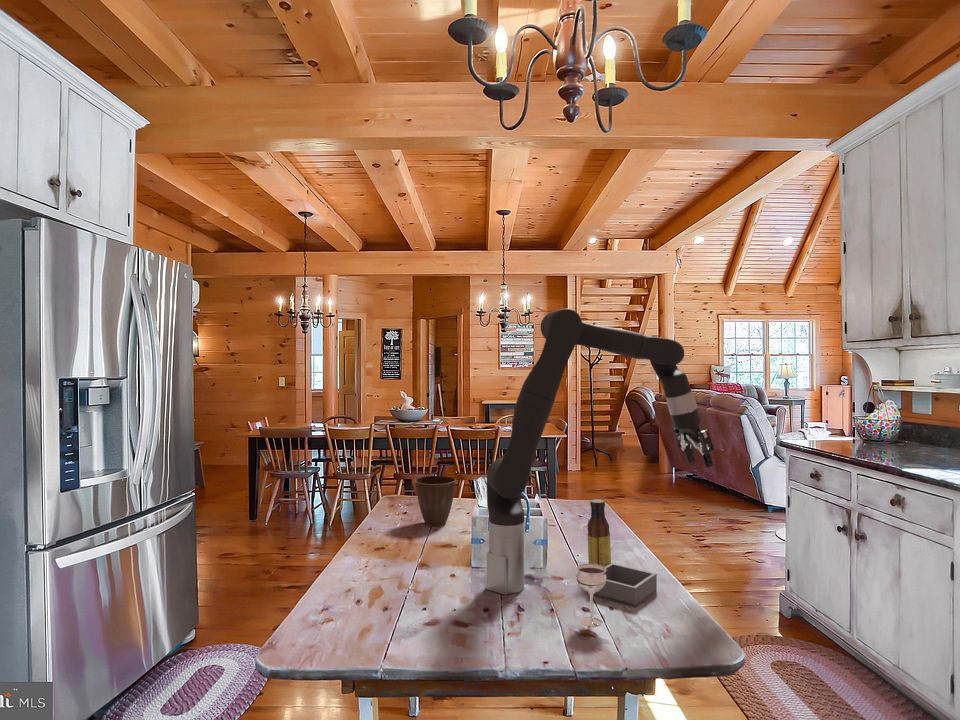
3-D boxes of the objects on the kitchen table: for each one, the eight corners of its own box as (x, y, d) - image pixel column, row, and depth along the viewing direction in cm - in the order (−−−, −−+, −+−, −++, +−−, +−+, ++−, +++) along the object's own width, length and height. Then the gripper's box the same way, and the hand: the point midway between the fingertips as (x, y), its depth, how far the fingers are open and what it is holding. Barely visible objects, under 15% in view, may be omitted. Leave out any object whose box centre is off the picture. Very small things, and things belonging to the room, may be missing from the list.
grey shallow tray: (635, 607, 142) (635, 588, 142) (588, 594, 150) (588, 576, 150) (656, 591, 152) (656, 573, 152) (611, 580, 160) (611, 563, 160)
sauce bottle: (612, 569, 168) (612, 499, 168) (609, 576, 162) (609, 504, 162) (589, 566, 170) (589, 497, 170) (585, 573, 164) (585, 502, 164)
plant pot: (454, 529, 207) (455, 484, 207) (412, 529, 207) (412, 483, 207) (457, 518, 222) (457, 475, 222) (417, 518, 222) (417, 475, 222)
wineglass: (600, 631, 130) (600, 576, 130) (571, 623, 133) (571, 570, 133) (611, 619, 135) (611, 567, 135) (583, 612, 139) (583, 561, 139)
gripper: (658, 412, 171) (675, 465, 172) (686, 415, 157) (704, 473, 158) (680, 403, 173) (696, 456, 173) (710, 406, 159) (727, 463, 159)
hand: (700, 464), depth 166 cm, fingers open, 8 cm apart
